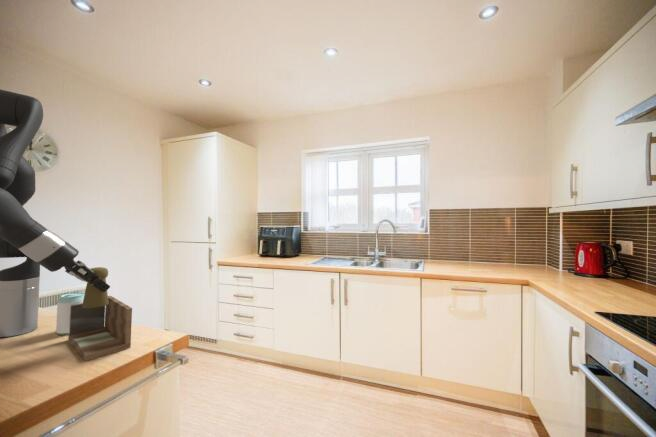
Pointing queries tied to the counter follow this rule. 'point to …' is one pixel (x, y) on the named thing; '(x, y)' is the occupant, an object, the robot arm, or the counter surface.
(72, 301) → the can
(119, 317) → the shelf
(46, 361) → the counter surface
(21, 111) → the robot arm
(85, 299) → the cork
